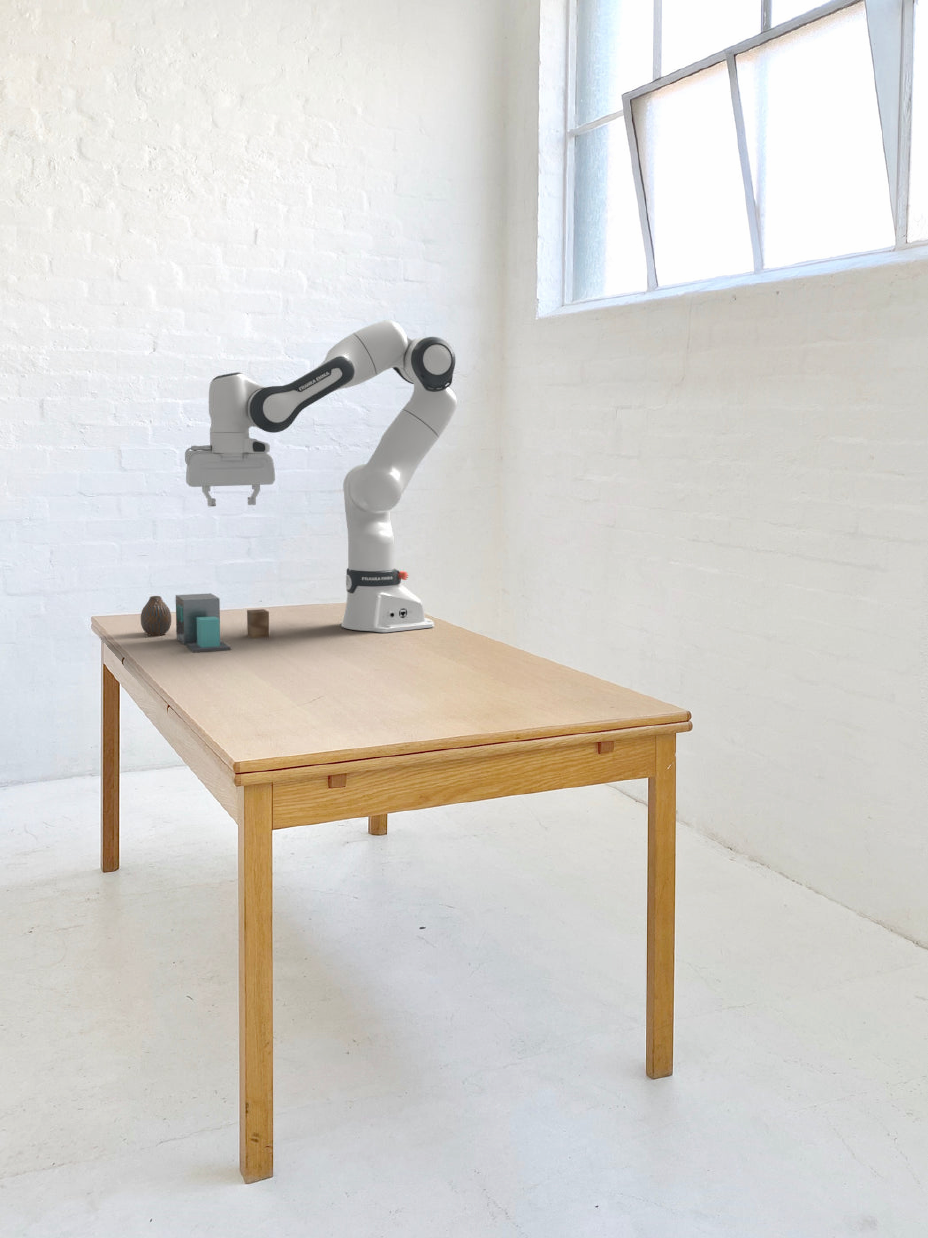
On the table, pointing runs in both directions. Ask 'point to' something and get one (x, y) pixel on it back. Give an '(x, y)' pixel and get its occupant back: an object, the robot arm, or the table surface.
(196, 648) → the pad
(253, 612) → the walnut block
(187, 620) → the block
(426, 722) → the table surface
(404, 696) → the table surface
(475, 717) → the table surface
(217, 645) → the teal block
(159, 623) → the vase
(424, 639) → the table surface
